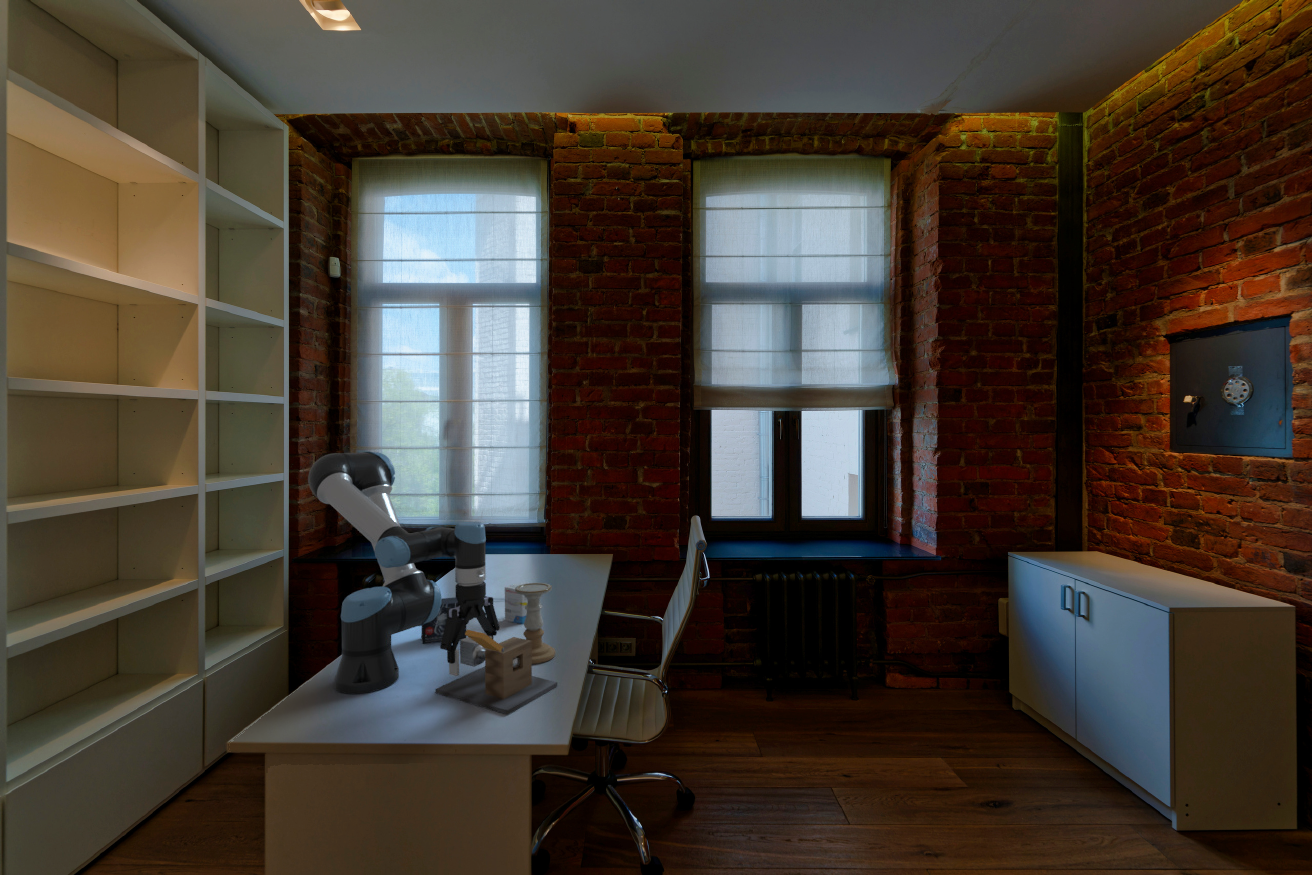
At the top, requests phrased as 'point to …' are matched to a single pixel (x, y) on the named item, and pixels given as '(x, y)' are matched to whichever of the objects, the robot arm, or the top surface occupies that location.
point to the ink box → (515, 605)
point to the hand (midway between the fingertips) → (471, 667)
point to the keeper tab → (484, 640)
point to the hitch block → (501, 680)
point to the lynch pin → (475, 653)
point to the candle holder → (535, 620)
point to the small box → (439, 623)
